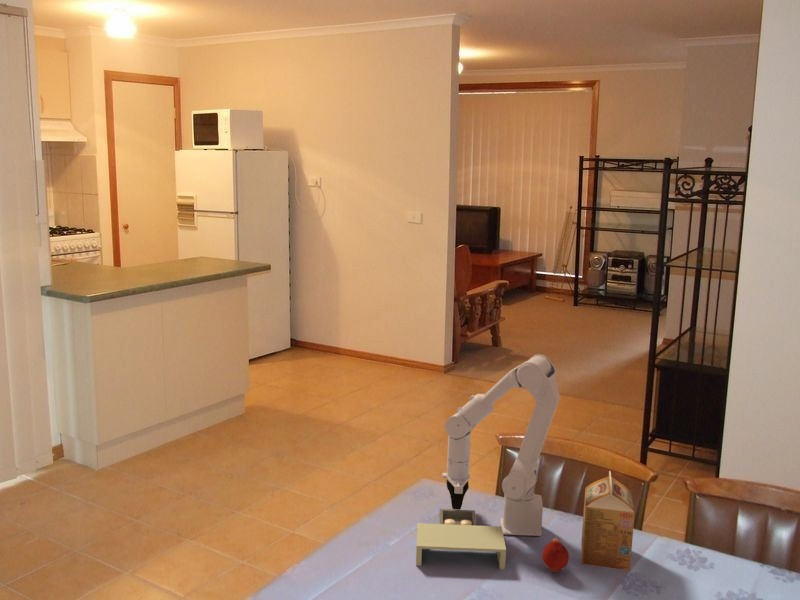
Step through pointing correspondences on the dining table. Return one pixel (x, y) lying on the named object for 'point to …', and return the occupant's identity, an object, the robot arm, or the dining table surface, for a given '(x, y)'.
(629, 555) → the milk carton
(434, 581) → the dining table surface
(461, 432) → the robot arm
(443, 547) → the bench
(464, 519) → the tray
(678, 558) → the dining table surface
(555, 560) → the onion
